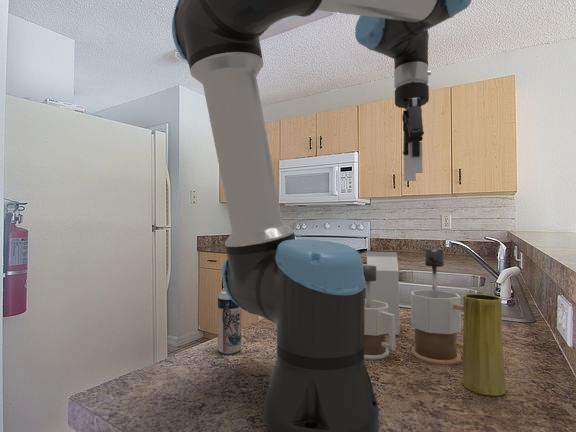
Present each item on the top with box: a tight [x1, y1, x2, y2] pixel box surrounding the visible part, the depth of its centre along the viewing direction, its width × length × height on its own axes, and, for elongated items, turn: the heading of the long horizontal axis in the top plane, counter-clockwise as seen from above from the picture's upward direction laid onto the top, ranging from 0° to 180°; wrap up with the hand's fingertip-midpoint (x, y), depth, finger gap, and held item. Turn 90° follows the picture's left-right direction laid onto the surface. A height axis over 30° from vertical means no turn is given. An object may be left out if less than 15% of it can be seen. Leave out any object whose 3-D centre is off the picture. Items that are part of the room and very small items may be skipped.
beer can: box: [217, 290, 242, 355], centre depth 70 cm, size 5×5×12 cm
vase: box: [461, 292, 507, 397], centre depth 54 cm, size 6×6×14 cm
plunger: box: [424, 248, 445, 298], centre depth 67 cm, size 6×6×14 cm
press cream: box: [363, 264, 396, 361], centre depth 68 cm, size 8×10×17 cm
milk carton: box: [366, 251, 400, 336], centre depth 83 cm, size 7×7×19 cm
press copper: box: [410, 289, 464, 366], centre depth 66 cm, size 9×12×12 cm
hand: (412, 177), depth 79 cm, fingers open, 13 cm apart
